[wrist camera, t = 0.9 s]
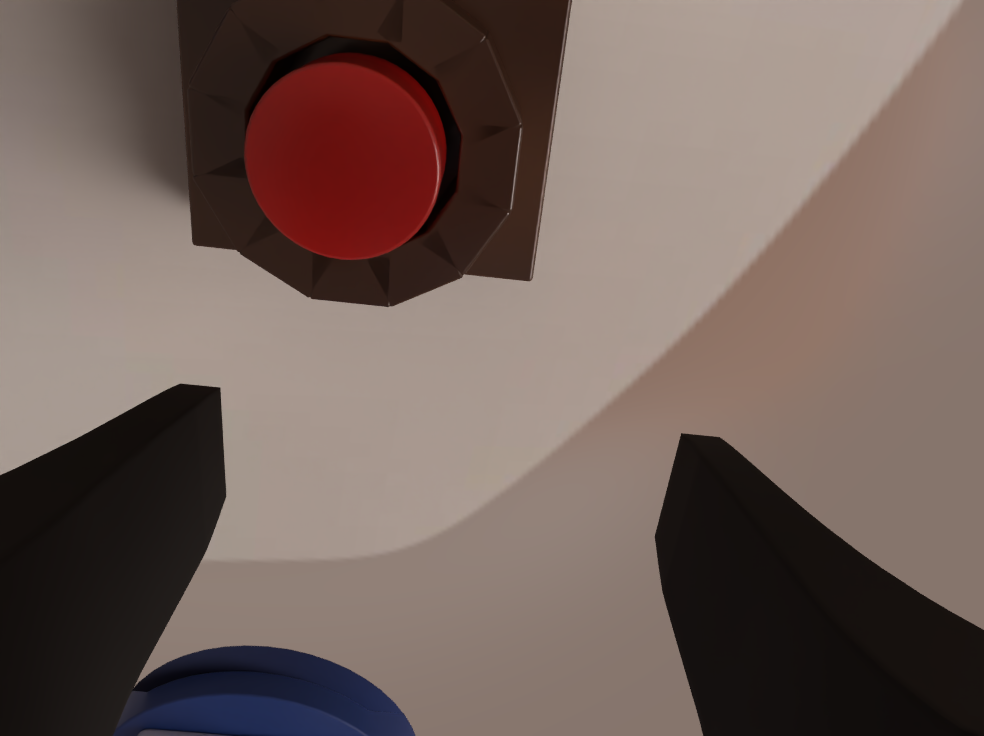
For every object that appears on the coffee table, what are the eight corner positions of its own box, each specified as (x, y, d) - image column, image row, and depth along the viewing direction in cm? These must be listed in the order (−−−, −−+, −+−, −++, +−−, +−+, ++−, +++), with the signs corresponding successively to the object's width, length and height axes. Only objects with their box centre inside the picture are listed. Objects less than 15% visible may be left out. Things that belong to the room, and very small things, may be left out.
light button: (439, 243, 17) (433, 270, 15) (269, 224, 17) (245, 250, 15) (454, 63, 15) (449, 75, 14) (266, 41, 15) (238, 49, 13)
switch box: (528, 261, 21) (533, 323, 17) (222, 228, 20) (162, 284, 17) (592, -214, 16) (619, -265, 12) (197, -266, 16) (109, -334, 12)
